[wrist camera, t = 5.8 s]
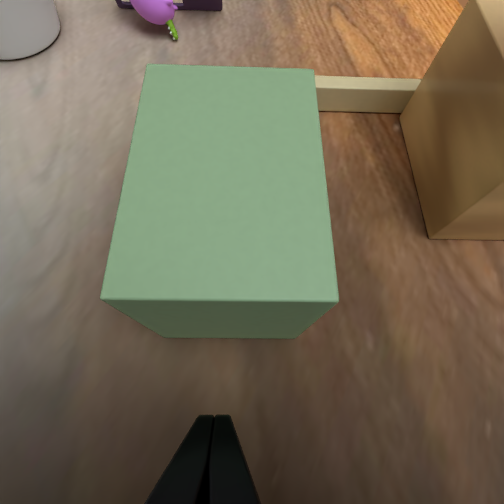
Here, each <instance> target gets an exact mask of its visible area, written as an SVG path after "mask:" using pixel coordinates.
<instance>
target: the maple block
mask: <svg viewBox="0 0 504 504" xmlns="http://www.w3.org/2000/svg"><path fill="white" fill-rule="evenodd" d="M399 119H400V123H401V127H402V131H403V135H404V139H405V143H406V147H407V151H408V155H409V159H410V164H411V168H412V172H413V176H414V180H415V184H416V188H417V192H418V196H419V200H420V204H421V208H422V212H423V216H424V220H425V225H426V229H427V233H428V237H429V239H468V240H504V0H469V1H468V3H467V4H466V6H465V8H464V9H463V11H462V13H461V14H460V16H459V18H458V19H457V21H456V23H455V24H454V26H453V28H452V29H451V31H450V33H449V35H448V36H447V38H446V40H445V41H444V43H443V45H442V46H441V48H440V50H439V51H438V53H437V55H436V56H435V58H434V60H433V61H432V63H431V65H430V67H429V68H428V70H427V72H426V73H425V75H424V77H423V78H422V80H421V82H420V83H419V85H418V87H417V88H416V90H415V92H414V94H413V95H412V97H411V99H410V100H409V102H408V104H407V105H406V107H405V109H404V110H403V112H402V114H401V115H400V117H399Z"/></svg>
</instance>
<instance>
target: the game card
mask: <svg viewBox="0 0 504 504" xmlns="http://www.w3.org/2000/svg"><path fill="white" fill-rule="evenodd" d="M115 1H116V3H117V5H118V6H119V7H120V8H134V9H135V10H136V11H137V12H138V13H139V14H140V15H141V16H142V17H143V18H144V19H146V20H147V21H149V22H151V23H153V24H157V25H163V24H167V25H168V30H169V29H170V31H171V32H170V33H169V34H171V35H173V39H174V40H177V39H178V35H177V31H176V29H175V27H174V24H173V22H172V19H173V17H174V13H175V10H213V11H221V10H222V0H183V3H173V1H172V0H130V2H123V1H121V0H115Z"/></svg>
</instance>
